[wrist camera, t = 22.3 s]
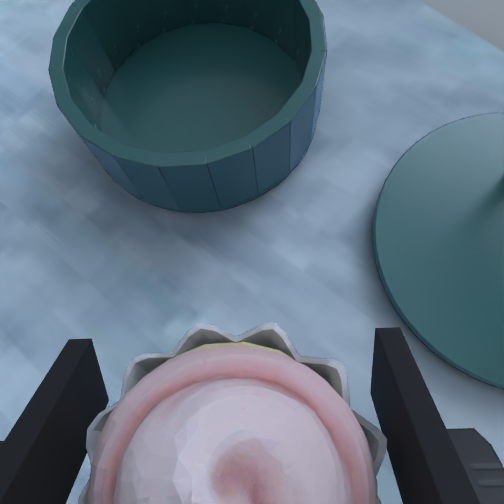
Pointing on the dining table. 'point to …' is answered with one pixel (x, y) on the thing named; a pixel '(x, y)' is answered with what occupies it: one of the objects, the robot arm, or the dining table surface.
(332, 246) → the dining table surface
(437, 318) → the tin lid
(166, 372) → the cupcake
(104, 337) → the dining table surface
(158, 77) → the tin
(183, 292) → the dining table surface
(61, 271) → the dining table surface
